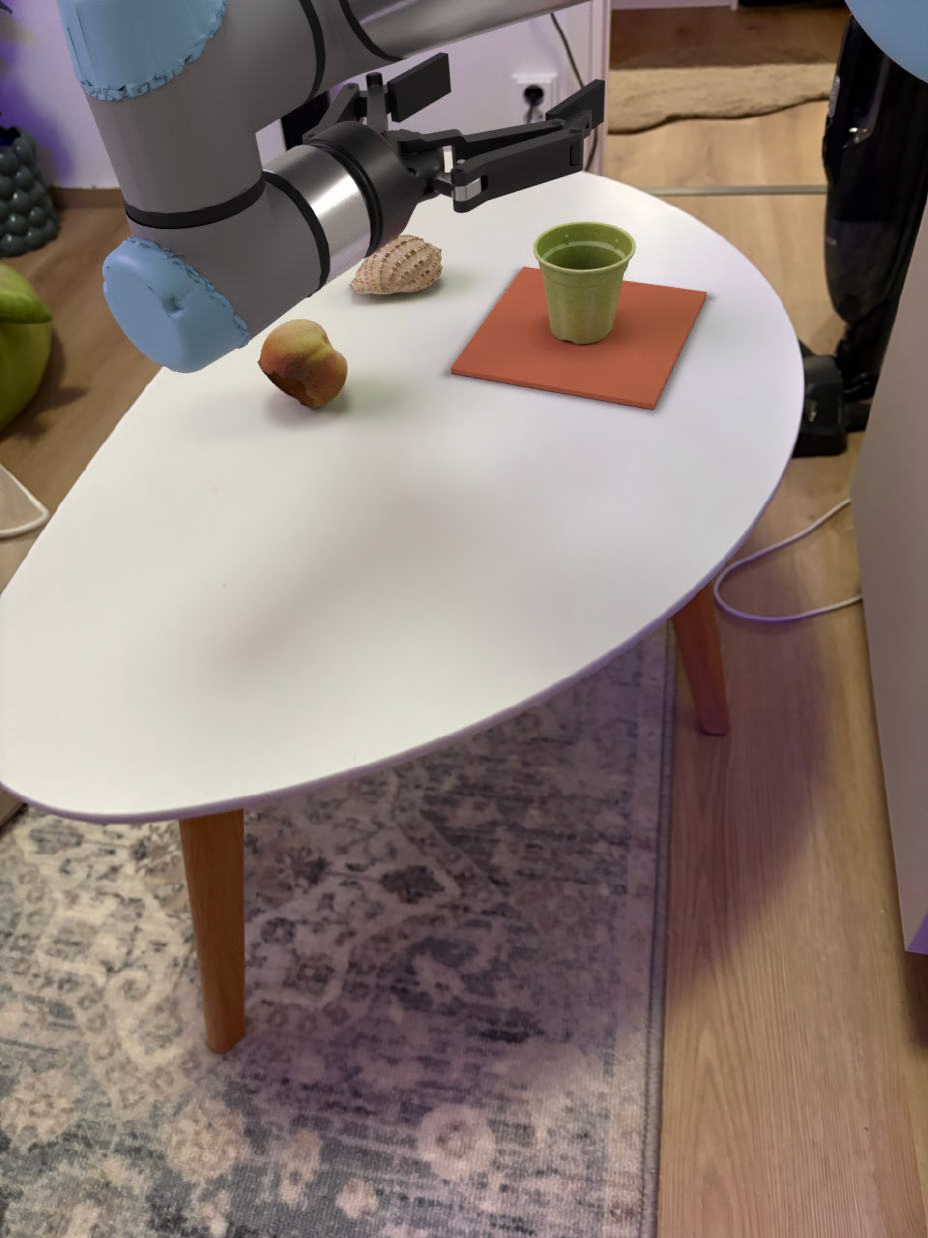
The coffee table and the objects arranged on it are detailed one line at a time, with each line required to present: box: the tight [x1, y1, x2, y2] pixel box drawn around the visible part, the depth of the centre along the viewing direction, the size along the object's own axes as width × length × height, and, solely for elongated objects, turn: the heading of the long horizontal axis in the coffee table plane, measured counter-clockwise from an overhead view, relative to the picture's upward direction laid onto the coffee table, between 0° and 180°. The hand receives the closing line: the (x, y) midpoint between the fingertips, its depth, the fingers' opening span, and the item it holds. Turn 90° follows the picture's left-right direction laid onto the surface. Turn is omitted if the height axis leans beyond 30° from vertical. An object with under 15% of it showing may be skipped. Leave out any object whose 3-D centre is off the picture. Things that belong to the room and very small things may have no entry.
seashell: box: [349, 234, 443, 296], centre depth 101 cm, size 8×6×10 cm
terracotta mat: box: [450, 266, 708, 410], centre depth 93 cm, size 20×20×1 cm
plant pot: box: [532, 221, 637, 344], centre depth 90 cm, size 9×9×9 cm
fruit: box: [257, 318, 349, 409], centre depth 86 cm, size 8×8×8 cm
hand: (519, 85), depth 69 cm, fingers open, 13 cm apart
